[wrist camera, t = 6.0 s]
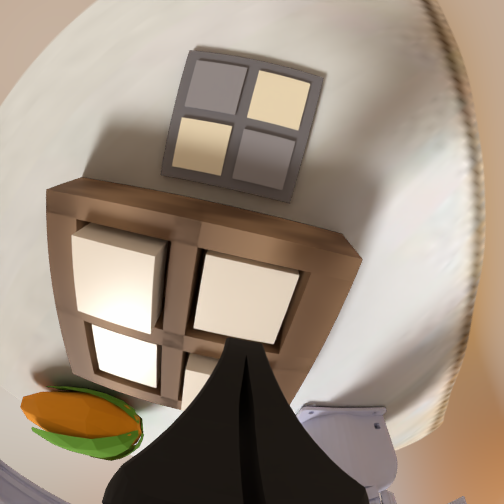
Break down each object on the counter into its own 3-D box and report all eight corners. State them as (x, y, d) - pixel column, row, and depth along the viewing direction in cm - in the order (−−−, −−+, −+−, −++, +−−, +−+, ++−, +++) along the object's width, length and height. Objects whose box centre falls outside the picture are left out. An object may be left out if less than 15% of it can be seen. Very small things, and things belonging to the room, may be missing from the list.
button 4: (168, 239, 13) (154, 256, 11) (161, 311, 15) (150, 334, 13) (92, 221, 13) (71, 235, 11) (93, 292, 14) (77, 310, 12)
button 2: (294, 257, 15) (299, 275, 13) (272, 322, 16) (273, 344, 14) (212, 238, 14) (206, 254, 12) (199, 307, 16) (193, 327, 14)
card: (321, 79, 12) (324, 77, 11) (289, 201, 15) (290, 204, 14) (191, 52, 11) (188, 49, 11) (163, 173, 14) (159, 175, 14)
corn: (150, 483, 16) (29, 445, 19) (168, 424, 24) (51, 409, 26) (103, 440, 14) (-7, 405, 16) (134, 376, 21) (22, 370, 23)
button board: (342, 233, 15) (362, 259, 12) (274, 391, 21) (276, 425, 18) (81, 177, 14) (46, 189, 11) (90, 345, 19) (72, 373, 16)
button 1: (263, 359, 16) (264, 384, 14) (247, 399, 18) (246, 422, 16) (191, 345, 16) (185, 369, 14) (186, 388, 17) (181, 409, 15)
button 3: (165, 324, 17) (156, 344, 15) (163, 368, 18) (156, 388, 16) (104, 306, 16) (91, 324, 14) (109, 351, 18) (99, 369, 16)
